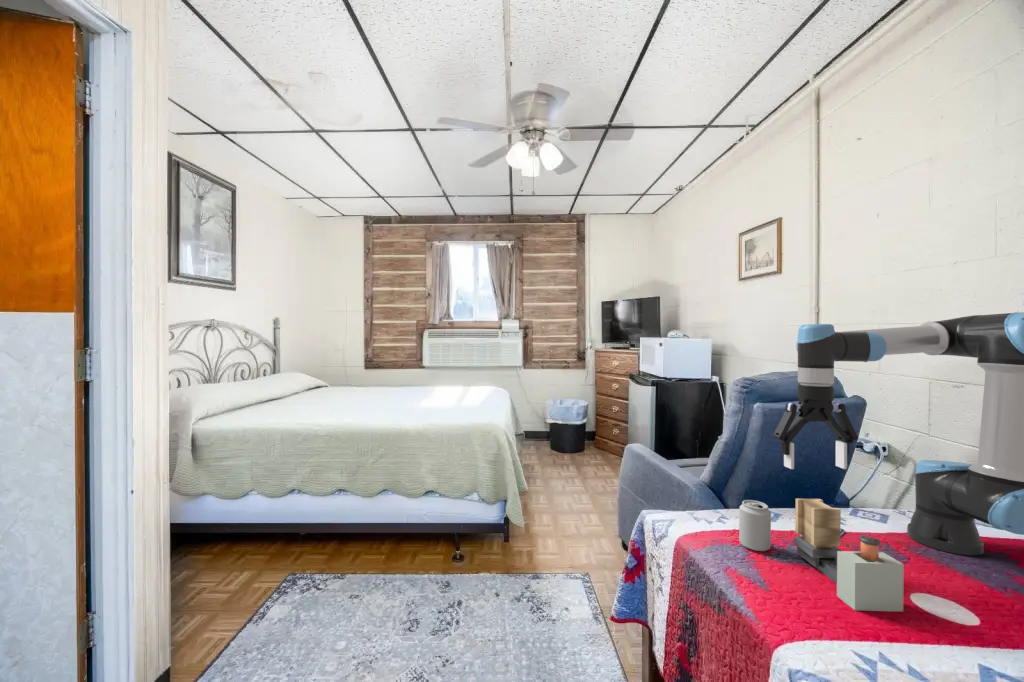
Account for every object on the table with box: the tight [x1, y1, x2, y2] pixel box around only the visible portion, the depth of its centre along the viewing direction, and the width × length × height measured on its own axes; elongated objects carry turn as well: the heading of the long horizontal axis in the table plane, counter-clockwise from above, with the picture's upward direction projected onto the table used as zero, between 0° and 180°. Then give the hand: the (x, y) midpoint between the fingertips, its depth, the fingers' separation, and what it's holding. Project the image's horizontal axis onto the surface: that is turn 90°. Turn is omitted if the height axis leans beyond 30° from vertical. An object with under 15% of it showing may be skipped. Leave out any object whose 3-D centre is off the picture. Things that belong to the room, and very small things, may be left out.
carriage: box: [793, 497, 842, 568], centre depth 106 cm, size 7×7×14 cm
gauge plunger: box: [858, 534, 881, 561], centre depth 90 cm, size 3×3×4 cm
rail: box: [805, 558, 837, 585], centre depth 101 cm, size 3×17×3 cm, turn 179°
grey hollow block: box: [836, 550, 905, 613], centre depth 90 cm, size 10×5×10 cm, turn 89°
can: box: [738, 499, 772, 552], centre depth 115 cm, size 8×8×12 cm
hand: (815, 467), depth 106 cm, fingers open, 13 cm apart
